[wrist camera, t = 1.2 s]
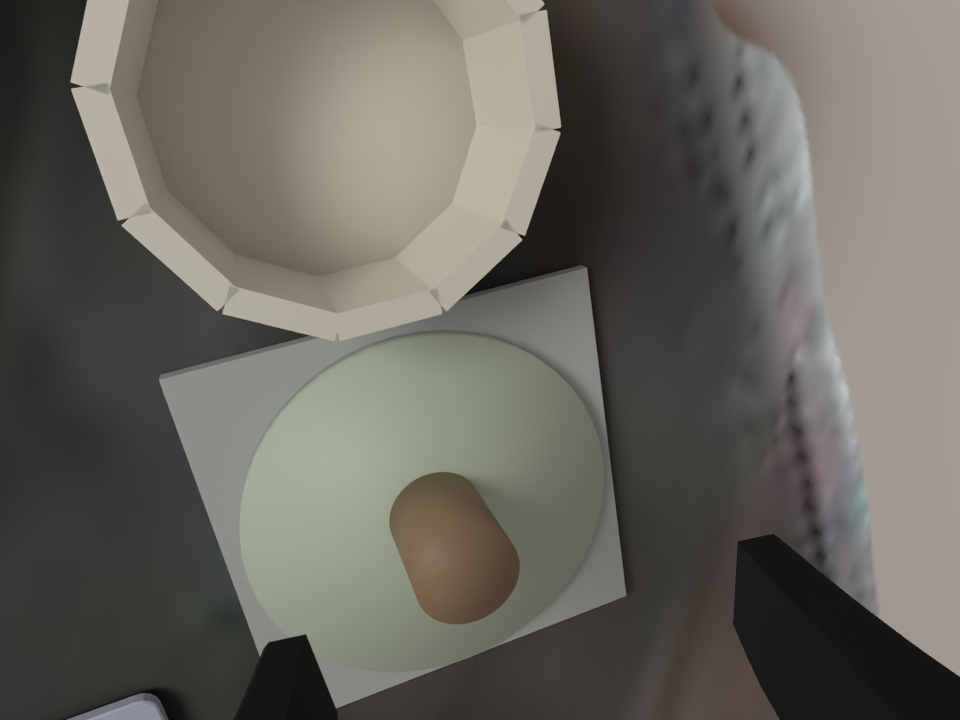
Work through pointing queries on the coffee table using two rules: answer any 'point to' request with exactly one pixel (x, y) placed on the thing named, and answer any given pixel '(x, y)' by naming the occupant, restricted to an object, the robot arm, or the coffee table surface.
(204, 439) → the mat
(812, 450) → the coffee table surface
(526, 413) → the lid
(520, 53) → the bowl
